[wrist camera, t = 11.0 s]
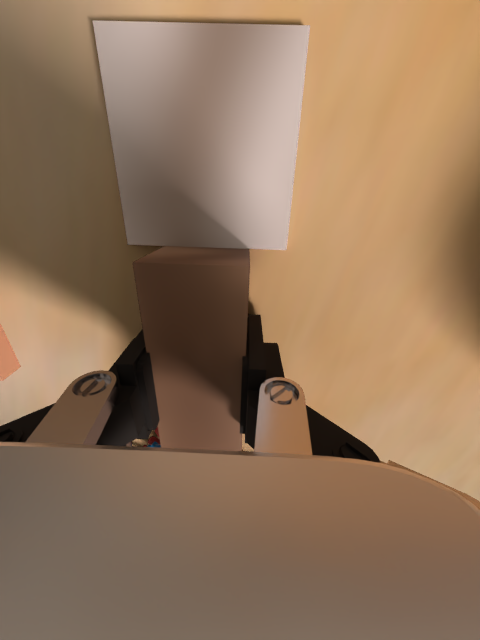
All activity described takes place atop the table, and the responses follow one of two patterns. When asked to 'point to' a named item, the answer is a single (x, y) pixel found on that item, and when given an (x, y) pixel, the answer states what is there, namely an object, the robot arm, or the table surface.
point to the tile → (6, 357)
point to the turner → (201, 196)
